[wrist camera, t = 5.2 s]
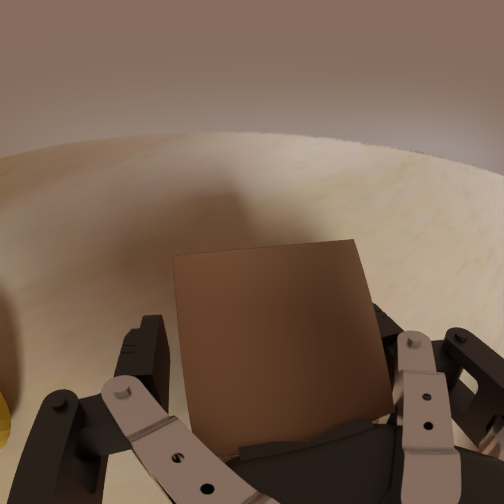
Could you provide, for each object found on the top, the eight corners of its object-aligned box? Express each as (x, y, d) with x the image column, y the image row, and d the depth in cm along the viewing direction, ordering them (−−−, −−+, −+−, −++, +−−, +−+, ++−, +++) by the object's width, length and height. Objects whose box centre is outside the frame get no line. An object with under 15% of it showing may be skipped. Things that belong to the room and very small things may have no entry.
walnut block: (209, 415, 14) (196, 458, 5) (197, 330, 16) (173, 255, 7) (298, 401, 15) (395, 411, 6) (283, 319, 17) (353, 239, 8)
